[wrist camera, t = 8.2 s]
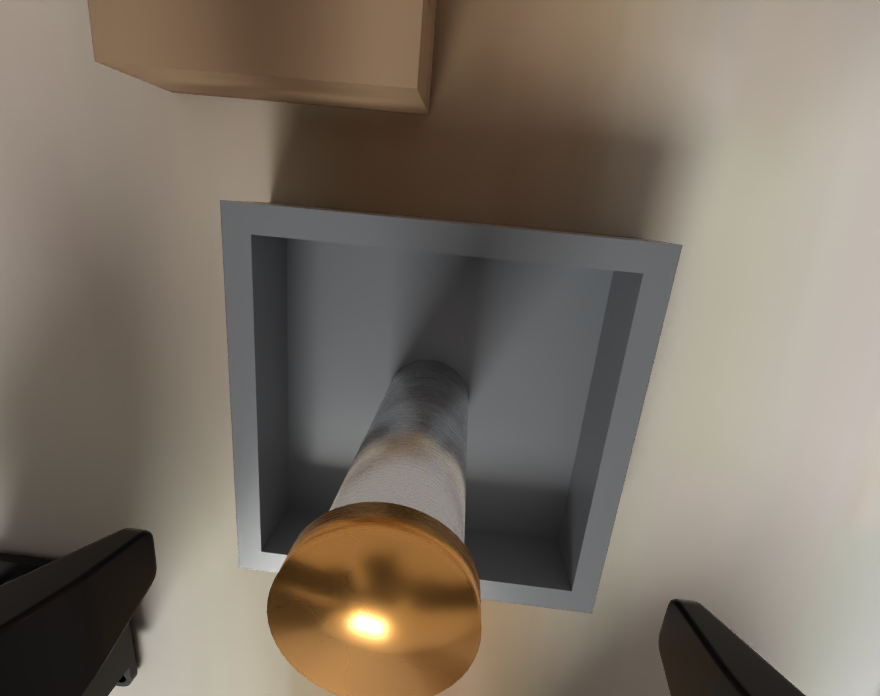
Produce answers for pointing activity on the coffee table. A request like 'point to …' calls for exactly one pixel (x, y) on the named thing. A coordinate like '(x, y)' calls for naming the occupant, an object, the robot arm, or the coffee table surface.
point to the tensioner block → (275, 49)
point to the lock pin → (389, 555)
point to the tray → (459, 346)
